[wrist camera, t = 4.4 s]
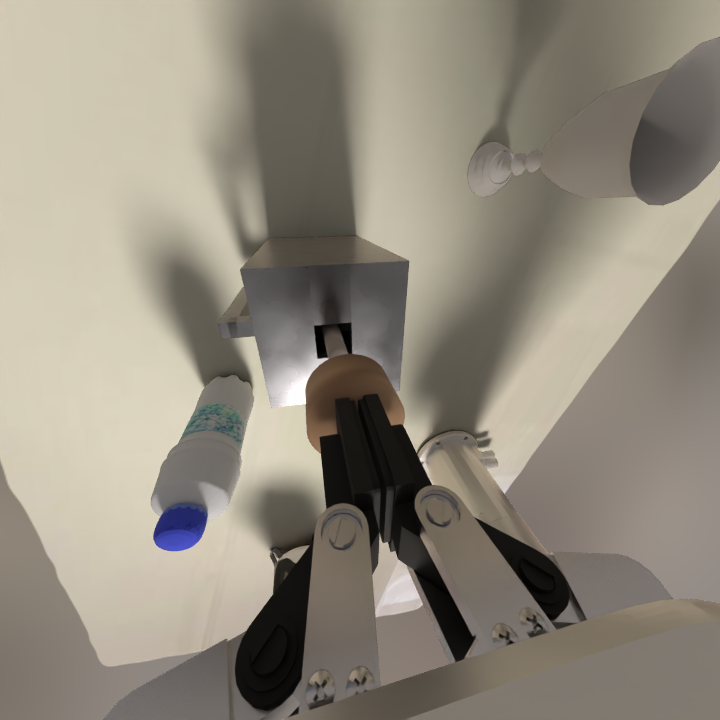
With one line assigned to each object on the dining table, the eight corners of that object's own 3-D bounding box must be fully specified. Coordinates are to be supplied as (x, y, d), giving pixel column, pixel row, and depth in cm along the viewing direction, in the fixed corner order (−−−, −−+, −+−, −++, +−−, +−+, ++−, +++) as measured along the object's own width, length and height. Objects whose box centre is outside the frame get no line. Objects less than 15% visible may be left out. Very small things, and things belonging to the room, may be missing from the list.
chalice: (527, 172, 31) (753, 138, 16) (480, 220, 33) (644, 232, 17) (497, 110, 28) (750, -11, 12) (447, 167, 29) (614, 123, 14)
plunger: (356, 255, 26) (453, 335, 10) (357, 326, 29) (430, 469, 13) (278, 259, 24) (242, 356, 8) (289, 332, 28) (279, 497, 12)
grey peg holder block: (356, 235, 31) (409, 260, 16) (357, 315, 35) (399, 390, 21) (239, 239, 28) (179, 272, 14) (257, 323, 33) (226, 414, 19)
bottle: (201, 404, 37) (119, 572, 20) (208, 363, 34) (121, 516, 17) (252, 412, 39) (218, 568, 22) (262, 375, 37) (232, 519, 20)
